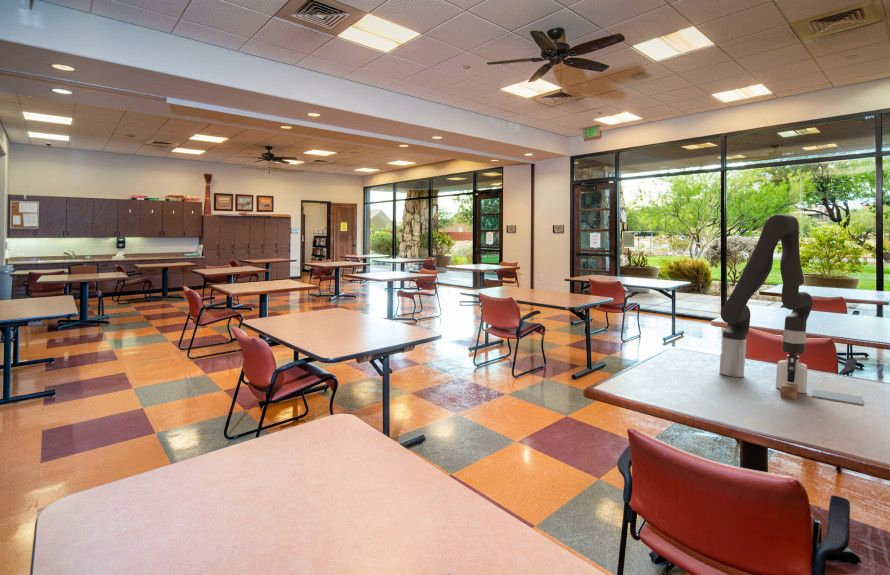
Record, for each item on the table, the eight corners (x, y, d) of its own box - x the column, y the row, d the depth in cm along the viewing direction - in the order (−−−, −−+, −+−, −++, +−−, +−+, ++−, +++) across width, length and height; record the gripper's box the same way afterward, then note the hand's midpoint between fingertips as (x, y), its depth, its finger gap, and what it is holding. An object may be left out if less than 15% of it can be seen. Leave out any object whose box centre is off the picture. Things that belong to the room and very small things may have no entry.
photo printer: (773, 388, 191) (776, 359, 190) (777, 385, 194) (779, 357, 193) (804, 394, 184) (806, 364, 182) (807, 392, 186) (809, 362, 185)
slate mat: (811, 396, 181) (811, 395, 181) (812, 390, 188) (812, 388, 188) (863, 405, 171) (863, 404, 171) (861, 398, 179) (861, 396, 179)
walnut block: (780, 397, 181) (781, 385, 180) (781, 394, 184) (782, 382, 184) (796, 400, 177) (797, 388, 177) (797, 396, 181) (798, 384, 181)
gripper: (783, 336, 194) (781, 373, 196) (781, 342, 183) (778, 381, 185) (806, 338, 190) (803, 376, 191) (805, 345, 179) (802, 385, 181)
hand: (791, 379), depth 188 cm, fingers open, 8 cm apart
